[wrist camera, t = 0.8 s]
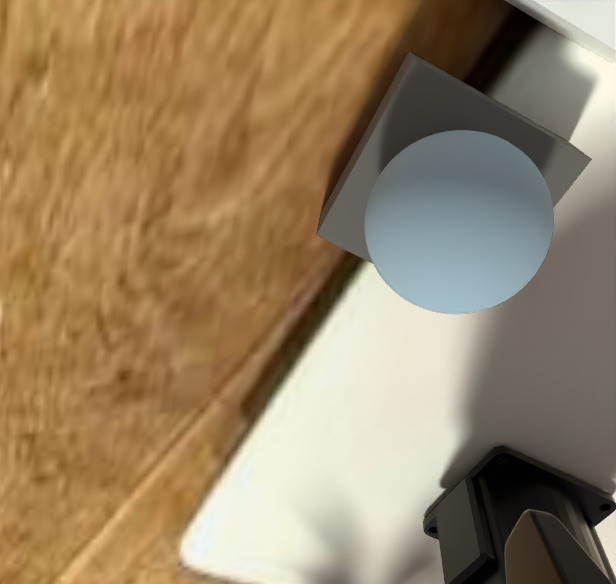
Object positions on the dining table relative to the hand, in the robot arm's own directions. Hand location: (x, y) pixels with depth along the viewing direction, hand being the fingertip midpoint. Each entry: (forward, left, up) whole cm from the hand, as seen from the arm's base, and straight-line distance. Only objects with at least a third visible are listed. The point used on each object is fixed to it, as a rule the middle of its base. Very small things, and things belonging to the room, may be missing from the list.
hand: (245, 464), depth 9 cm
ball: (-3, -3, -8) cm, 9 cm away
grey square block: (-3, -3, -12) cm, 13 cm away
